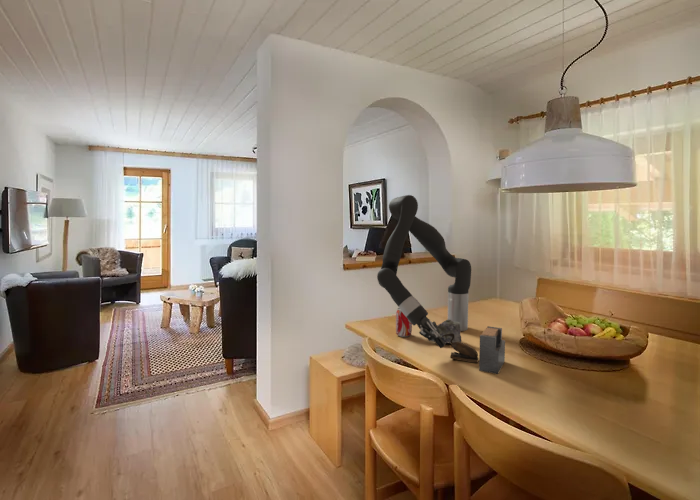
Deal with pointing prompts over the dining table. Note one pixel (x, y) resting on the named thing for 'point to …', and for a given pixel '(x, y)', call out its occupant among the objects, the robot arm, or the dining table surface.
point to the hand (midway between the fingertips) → (443, 346)
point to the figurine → (463, 351)
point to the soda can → (402, 324)
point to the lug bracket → (491, 350)
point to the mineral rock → (449, 331)
